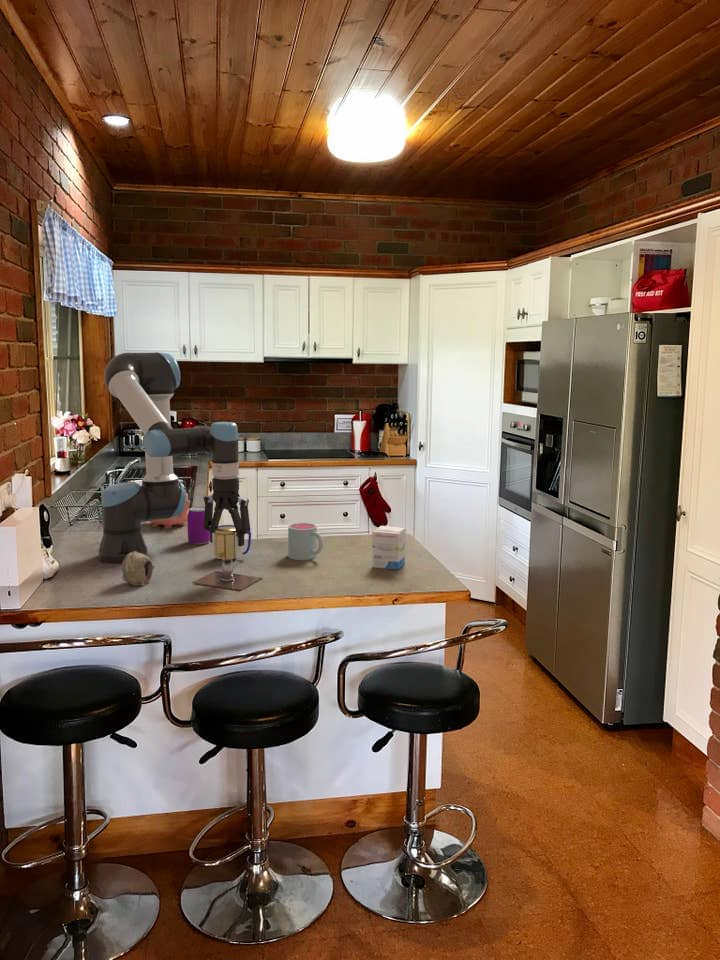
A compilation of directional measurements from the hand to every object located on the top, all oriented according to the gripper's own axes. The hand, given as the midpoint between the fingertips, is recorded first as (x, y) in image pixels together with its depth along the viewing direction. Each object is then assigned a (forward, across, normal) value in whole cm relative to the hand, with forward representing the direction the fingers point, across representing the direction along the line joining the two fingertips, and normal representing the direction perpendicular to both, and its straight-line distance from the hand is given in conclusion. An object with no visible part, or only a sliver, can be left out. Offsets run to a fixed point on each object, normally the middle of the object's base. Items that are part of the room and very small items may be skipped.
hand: (227, 555), depth 221 cm
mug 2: (+8, +10, +32) cm, 35 cm away
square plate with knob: (+8, 0, 0) cm, 8 cm away
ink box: (+8, +37, +35) cm, 52 cm away
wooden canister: (0, 0, 0) cm, 0 cm away
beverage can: (+8, -32, +33) cm, 47 cm away
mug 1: (+8, -11, +21) cm, 25 cm away
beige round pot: (+8, -23, -12) cm, 27 cm away
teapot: (+7, -56, +48) cm, 74 cm away
